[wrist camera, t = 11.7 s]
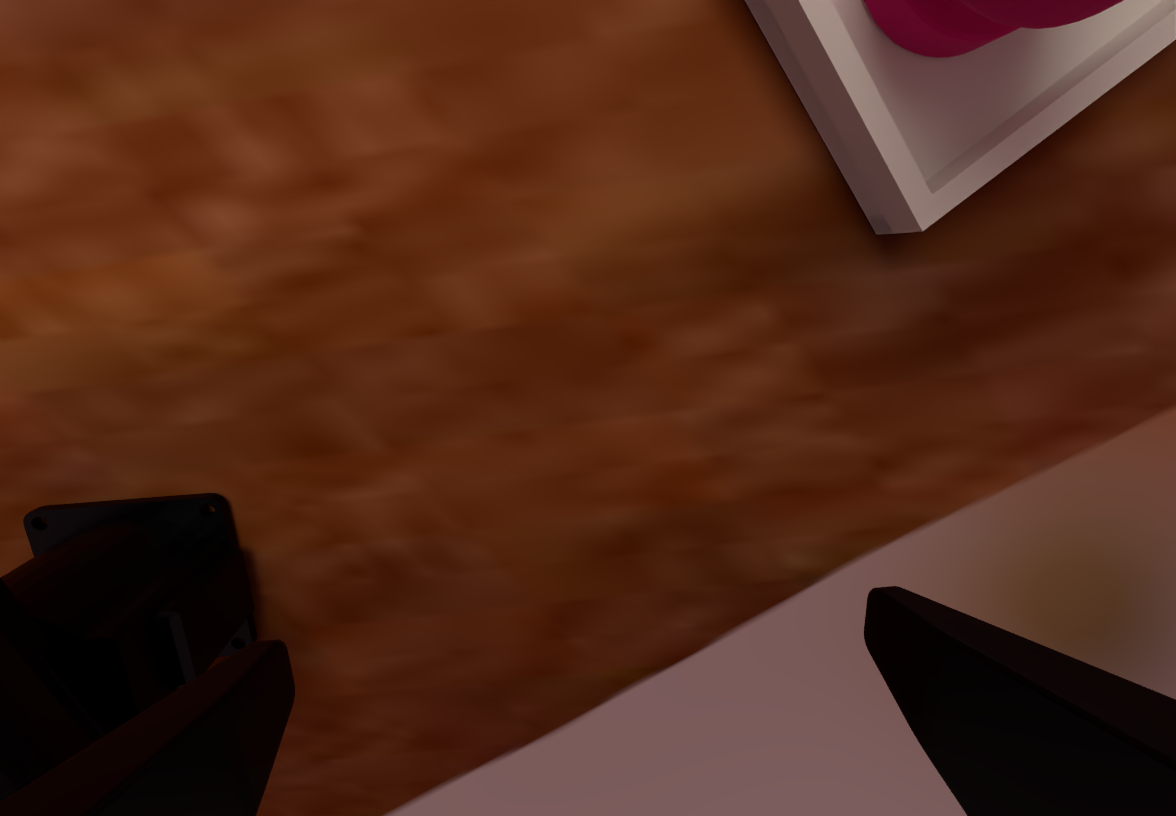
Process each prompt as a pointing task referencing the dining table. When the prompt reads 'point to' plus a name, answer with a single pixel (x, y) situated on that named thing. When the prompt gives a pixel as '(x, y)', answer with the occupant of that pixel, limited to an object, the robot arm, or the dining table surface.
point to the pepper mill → (972, 21)
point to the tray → (946, 96)
